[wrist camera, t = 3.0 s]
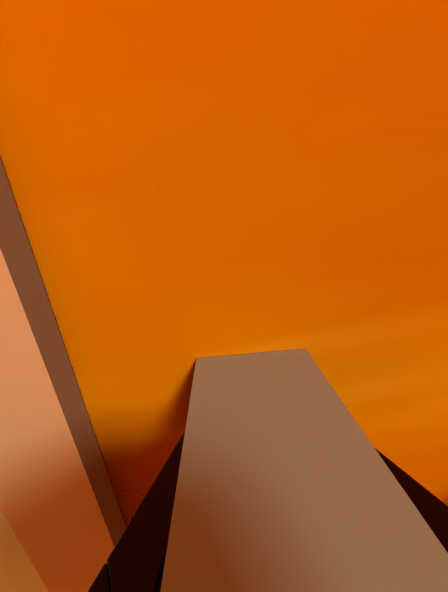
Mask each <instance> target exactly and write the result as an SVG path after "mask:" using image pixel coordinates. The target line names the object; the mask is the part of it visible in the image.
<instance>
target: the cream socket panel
mask: <svg viewBox="0 0 448 592" xmlns="http://www.w3.org/2000/svg"><path fill="white" fill-rule="evenodd" d="M125 529H126V525H125V522H124V519H123V516H122V513H121V510H120V507H119V504H118V501H117V498H116V495H115V493H114V490H113V487H112V484H111V481H110V478H109V475H108V472H107V469H106V466H105V463H104V460H103V457H102V454H101V451H100V449H99V446H98V443H97V440H96V437H95V434H94V431H93V428H92V425H91V422H90V419H89V416H88V413H87V410H86V407H85V404H84V402H83V399H82V396H81V393H80V390H79V387H78V384H77V381H76V378H75V375H74V372H73V369H72V366H71V363H70V360H69V358H68V355H67V352H66V349H65V346H64V343H63V340H62V337H61V334H60V331H59V328H58V325H57V322H56V319H55V316H54V313H53V311H52V308H51V305H50V302H49V299H48V296H47V293H46V290H45V287H44V284H43V281H42V278H41V275H40V272H39V269H38V267H37V264H36V261H35V258H34V255H33V252H32V249H31V246H30V243H29V240H28V237H27V234H26V231H25V228H24V225H23V222H22V220H21V217H20V214H19V211H18V208H17V205H16V202H15V199H14V196H13V193H12V190H11V187H10V184H9V181H8V178H7V176H6V173H5V170H4V167H3V164H2V161H1V158H0V592H88V590H89V588H90V587H91V585H92V583H93V582H94V580H95V578H96V577H97V575H98V573H99V572H100V570H101V568H102V567H103V565H104V564H107V559H108V557H109V556H110V554H111V552H112V551H113V549H114V547H115V546H116V544H117V542H118V541H119V539H120V537H121V536H122V534H123V532H124V531H125Z"/></svg>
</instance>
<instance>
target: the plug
mask: <svg viewBox="0 0 448 592" xmlns="http://www.w3.org/2000/svg"><path fill="white" fill-rule="evenodd" d="M160 592H448V553H447V551H446V550H445V549H444V547H443V546H442V544H441V543H440V541H439V540H438V538H437V537H436V536H435V534H434V533H433V531H432V530H431V528H430V527H429V526H428V524H427V523H426V521H425V520H424V518H423V517H422V515H421V514H420V513H419V511H418V510H417V508H416V507H415V505H414V504H413V503H412V501H411V500H410V498H409V497H408V495H407V494H406V492H405V491H404V490H403V488H402V487H401V485H400V484H399V482H398V481H397V480H396V478H395V477H394V475H393V474H392V472H391V471H390V469H389V468H388V467H387V465H386V464H385V462H384V461H383V459H382V458H381V457H380V455H379V454H378V452H377V451H376V449H375V448H374V446H373V445H372V444H371V442H370V441H369V439H368V438H367V436H366V435H365V434H364V432H363V431H362V429H361V428H360V426H359V425H358V423H357V422H356V421H355V419H354V418H353V416H352V415H351V413H350V412H349V411H348V409H347V408H346V406H345V405H344V403H343V402H342V400H341V399H340V398H339V396H338V395H337V393H336V392H335V390H334V389H333V388H332V386H331V385H330V383H329V382H328V380H327V379H326V377H325V376H324V375H323V373H322V372H321V370H320V369H319V367H318V366H317V365H316V363H315V362H314V360H313V359H312V357H311V356H310V354H309V353H308V352H307V350H306V349H295V350H284V351H273V352H261V353H250V354H239V355H228V356H217V357H206V358H196V363H195V370H194V376H193V383H192V389H191V396H190V402H189V409H188V415H187V422H186V428H185V435H184V441H183V448H182V454H181V461H180V467H179V474H178V480H177V487H176V493H175V500H174V506H173V513H172V519H171V526H170V532H169V539H168V545H167V552H166V558H165V565H164V571H163V578H162V584H161V591H160Z"/></svg>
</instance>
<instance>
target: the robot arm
mask: <svg viewBox="0 0 448 592" xmlns="http://www.w3.org/2000/svg"><path fill="white" fill-rule="evenodd" d="M184 435H185V432H184V433H183V435H182V436H181V438H180V440H179V441H178V443H177V445H176V446H175V448H174V450H173V451H172V453H171V455H170V456H169V458H168V460H167V461H166V463H165V465H164V466H163V468H162V470H161V471H160V473H159V474H158V476H157V478H156V479H155V481H154V483H153V484H152V486H151V488H150V489H149V491H148V493H147V494H146V496H145V498H144V499H143V501H142V503H141V504H140V506H139V508H138V509H137V511H136V513H135V514H134V516H133V518H132V519H131V521H130V522H129V524H128V526H127V527H126V529H125V531H124V532H123V534H122V536H121V537H120V539H119V541H118V542H117V544H116V546H115V547H114V549H113V551H112V552H111V554H110V556H109V557H108V559H107V564H104V565H103V567H102V568H101V570H100V572H99V573H98V575H97V577H96V578H95V580H94V582H93V583H92V585H91V587H90V588H89V590H88V592H160V591H161V584H162V578H163V571H164V565H165V558H166V552H167V545H168V539H169V532H170V526H171V519H172V513H173V506H174V500H175V493H176V487H177V480H178V474H179V467H180V461H181V454H182V448H183V441H184ZM376 451H377V452H378V454H379V455H380V457H381V458H382V459H383V461H384V462H385V464H386V465H387V467H388V468H389V469H390V471H391V472H392V474H393V475H394V477H395V478H396V480H397V481H398V482H399V484H400V485H401V487H402V488H403V490H404V491H405V492H406V494H407V495H408V497H409V498H410V500H411V501H412V503H413V504H414V505H415V507H416V508H417V510H418V511H419V513H420V514H421V515H422V517H423V518H424V520H425V521H426V523H427V524H428V526H429V527H430V528H431V530H432V531H433V533H434V534H435V536H436V537H437V538H438V540H439V541H440V543H441V544H442V546H443V547H444V549H445V550H446V551H447V553H448V506H447V505H446V504H444V503H443V502H442V501H441V500H439V499H438V498H437V497H436V496H434V495H433V494H432V493H431V492H429V491H428V490H427V489H426V488H424V487H423V486H422V485H421V484H419V483H418V482H417V481H416V480H414V479H413V478H412V477H411V476H409V475H408V474H407V473H405V472H404V471H403V470H402V469H400V468H399V467H398V466H397V465H395V464H394V463H393V462H392V461H390V460H389V459H388V458H387V457H385V456H384V455H383V454H382V453H380V452H379V451H378V450H377V449H376Z"/></svg>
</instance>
